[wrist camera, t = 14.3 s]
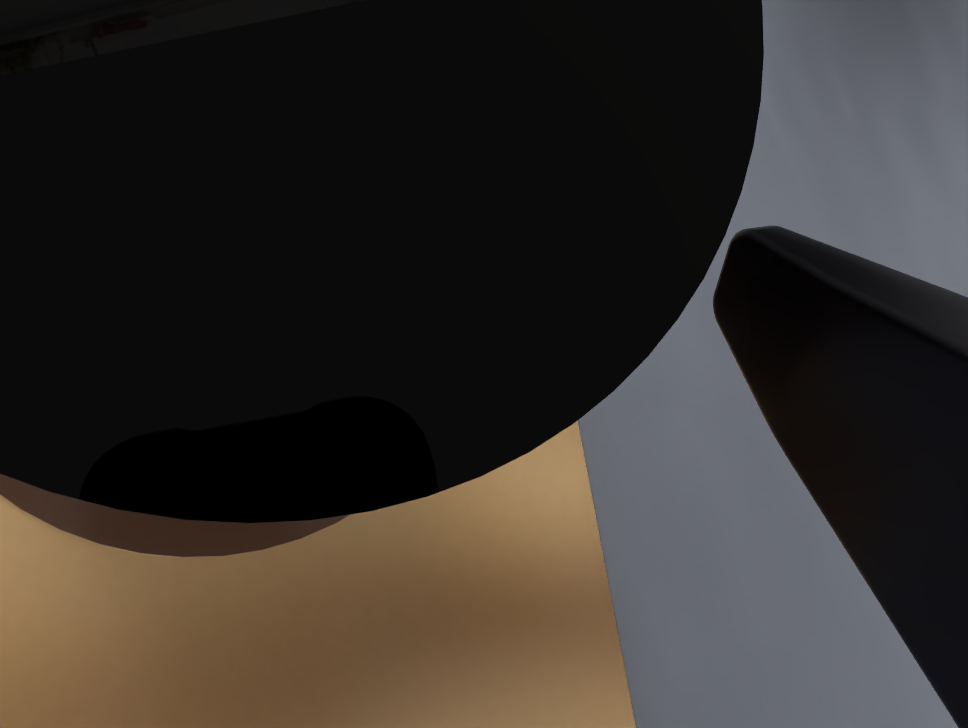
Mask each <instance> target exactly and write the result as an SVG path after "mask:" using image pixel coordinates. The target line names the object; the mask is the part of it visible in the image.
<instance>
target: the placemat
mask: <svg viewBox="0 0 968 728" xmlns="http://www.w3.org/2000/svg"><path fill="white" fill-rule="evenodd" d="M0 728H636V725H635V720H634V714H633V709H632V704H631V698H630V693H629V688H628V683H627V677H626V672H625V667H624V662H623V656H622V651H621V646H620V641H619V635H618V630H617V625H616V620H615V614H614V609H613V604H612V599H611V593H610V588H609V583H608V578H607V572H606V567H605V562H604V556H603V551H602V546H601V541H600V535H599V530H598V525H597V520H596V514H595V509H594V504H593V499H592V493H591V488H590V483H589V478H588V472H587V467H586V462H585V457H584V451H583V446H582V441H581V435H580V430H579V425H578V420H577V421H576V422H575V423H574V424H572V425H571V426H569V427H568V428H566V429H565V430H563V431H561V432H560V433H558V434H557V435H555V436H554V437H552V438H551V439H549V440H548V441H546V442H544V443H543V444H541V445H540V446H538V447H537V448H535V449H534V450H532V451H531V452H529V453H527V454H525V455H523V456H521V457H519V458H517V459H515V460H513V461H511V462H509V463H507V464H505V465H503V466H501V467H499V468H497V469H495V470H493V471H491V472H489V473H487V474H485V475H483V476H481V477H479V478H476V479H473V480H471V481H468V482H465V483H463V484H460V485H457V486H455V487H452V488H449V489H447V490H444V491H441V492H439V493H436V494H433V495H431V496H428V497H424V498H420V499H416V500H413V501H409V502H405V503H401V504H397V505H393V506H390V507H386V508H382V509H378V510H374V511H369V512H363V513H356V514H349V515H343V516H336V517H330V518H323V519H316V520H305V521H284V522H263V523H237V522H218V521H199V520H183V519H176V518H170V517H163V516H157V515H151V514H144V513H138V512H131V511H125V510H118V509H114V508H110V507H106V506H102V505H99V504H95V503H91V502H87V501H83V500H79V499H75V498H72V497H68V496H64V495H60V494H56V493H52V492H49V491H46V490H43V489H41V488H38V487H35V486H32V485H30V484H27V483H24V482H22V481H19V480H16V479H13V478H11V477H8V476H5V475H3V474H0Z"/></svg>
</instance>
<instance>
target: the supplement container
mask: <svg viewBox="0 0 968 728" xmlns="http://www.w3.org/2000/svg"><path fill="white" fill-rule="evenodd" d="M763 55H764V50H763V16H762V0H0V474H3V475H5V476H8V477H11V478H13V479H16V480H19V481H22V482H24V483H27V484H30V485H32V486H35V487H38V488H41V489H43V490H46V491H49V492H52V493H56V494H60V495H64V496H68V497H72V498H75V499H79V500H83V501H87V502H91V503H95V504H99V505H102V506H106V507H110V508H114V509H118V510H125V511H131V512H138V513H144V514H151V515H157V516H163V517H170V518H176V519H183V520H199V521H218V522H237V523H263V522H284V521H305V520H316V519H323V518H330V517H336V516H343V515H349V514H356V513H363V512H369V511H374V510H378V509H382V508H386V507H390V506H393V505H397V504H401V503H405V502H409V501H413V500H416V499H420V498H424V497H428V496H431V495H433V494H436V493H439V492H441V491H444V490H447V489H449V488H452V487H455V486H457V485H460V484H463V483H465V482H468V481H471V480H473V479H476V478H479V477H481V476H483V475H485V474H487V473H489V472H491V471H493V470H495V469H497V468H499V467H501V466H503V465H505V464H507V463H509V462H511V461H513V460H515V459H517V458H519V457H521V456H523V455H525V454H527V453H529V452H531V451H532V450H534V449H535V448H537V447H538V446H540V445H541V444H543V443H544V442H546V441H548V440H549V439H551V438H552V437H554V436H555V435H557V434H558V433H560V432H561V431H563V430H565V429H566V428H568V427H569V426H571V425H572V424H574V423H575V422H576V421H577V420H579V419H580V418H581V417H582V416H584V415H585V414H586V413H587V412H589V411H590V410H591V409H592V408H593V407H595V406H596V405H597V404H598V403H600V402H601V401H602V400H603V399H604V398H606V397H607V396H608V395H609V394H611V393H612V392H613V391H614V390H615V389H616V388H617V387H618V386H619V385H620V384H621V383H622V382H623V381H624V380H625V379H626V378H627V377H628V376H629V375H630V374H631V373H632V372H633V371H634V370H635V369H636V368H637V367H638V366H639V365H640V364H641V363H642V362H643V361H644V360H645V359H646V358H647V357H648V356H649V354H650V353H651V352H652V351H653V349H654V348H655V347H656V346H657V344H658V343H659V342H660V341H661V339H662V338H663V337H664V336H665V334H666V333H667V332H668V331H669V329H670V328H671V327H672V325H673V324H674V323H675V322H676V320H677V319H678V318H679V316H680V315H681V313H682V312H683V310H684V308H685V307H686V305H687V304H688V302H689V301H690V299H691V297H692V296H693V294H694V293H695V291H696V290H697V288H698V286H699V285H700V283H701V282H702V280H703V279H704V277H705V275H706V273H707V271H708V269H709V267H710V265H711V263H712V261H713V259H714V257H715V255H716V253H717V251H718V249H719V247H720V245H721V242H722V240H723V238H724V236H725V234H726V231H727V229H728V226H729V223H730V221H731V218H732V215H733V213H734V210H735V207H736V205H737V202H738V199H739V197H740V194H741V191H742V187H743V184H744V180H745V176H746V172H747V168H748V164H749V161H750V157H751V153H752V149H753V145H754V139H755V132H756V126H757V120H758V114H759V107H760V101H761V87H762V71H763Z"/></svg>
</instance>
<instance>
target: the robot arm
mask: <svg viewBox="0 0 968 728" xmlns="http://www.w3.org/2000/svg"><path fill="white" fill-rule="evenodd" d="M713 308H714V314H715V318H716V320H717V323H718V325H719V327H720V329H721V331H722V333H723V335H724V337H725V339H726V341H727V343H728V345H729V347H730V349H731V351H732V353H733V355H734V357H735V359H736V361H737V363H738V365H739V367H740V369H741V371H742V373H743V375H744V377H745V379H746V381H747V383H748V385H749V387H750V389H751V391H752V393H753V395H754V397H755V399H756V401H757V403H758V405H759V407H760V409H761V411H762V413H763V415H764V417H765V419H766V421H767V423H768V425H769V427H770V429H771V431H772V432H773V434H774V436H775V438H776V440H777V441H778V443H779V445H780V446H781V448H782V450H783V451H784V453H785V455H786V456H787V458H788V459H789V461H790V463H791V464H792V466H793V467H794V469H795V470H796V472H797V474H798V475H799V477H800V478H801V480H802V481H803V483H804V485H805V486H806V488H807V489H808V491H809V493H810V494H811V496H812V497H813V499H814V500H815V502H816V504H817V505H818V507H819V508H820V510H821V511H822V513H823V515H824V516H825V518H826V519H827V521H828V522H829V524H830V526H831V527H832V529H833V530H834V532H835V534H836V535H837V537H838V538H839V540H840V541H841V543H842V545H843V546H844V548H845V549H846V551H847V552H848V554H849V556H850V557H851V559H852V560H853V562H854V563H855V565H856V567H857V568H858V570H859V571H860V573H861V575H862V576H863V578H864V579H865V581H866V582H867V584H868V586H869V587H870V589H871V590H872V592H873V593H874V595H875V597H876V598H877V600H878V601H879V603H880V604H881V606H882V608H883V609H884V611H885V612H886V614H887V616H888V617H889V619H890V620H891V622H892V623H893V625H894V627H895V628H896V630H897V631H898V633H899V634H900V636H901V638H902V639H903V641H904V642H905V644H906V646H907V647H908V649H909V650H910V652H911V653H912V655H913V657H914V658H915V660H916V661H917V663H918V664H919V666H920V668H921V669H922V671H923V672H924V674H925V675H926V677H927V679H928V680H929V682H930V683H931V685H932V687H933V688H934V690H935V691H936V693H937V694H938V696H939V698H940V699H941V701H942V702H943V704H944V705H945V707H946V709H947V710H948V712H949V713H950V715H951V716H952V718H953V720H954V721H955V723H956V724H957V726H958V728H968V297H965V296H962V295H960V294H957V293H954V292H952V291H949V290H946V289H944V288H941V287H938V286H936V285H933V284H931V283H928V282H925V281H923V280H920V279H917V278H915V277H912V276H909V275H907V274H904V273H901V272H899V271H896V270H893V269H891V268H888V267H885V266H883V265H880V264H877V263H875V262H872V261H870V260H867V259H864V258H862V257H859V256H856V255H854V254H851V253H848V252H846V251H843V250H840V249H838V248H835V247H832V246H830V245H827V244H824V243H822V242H819V241H816V240H814V239H811V238H809V237H806V236H803V235H801V234H798V233H795V232H793V231H790V230H787V229H785V228H782V227H779V226H764V227H756V228H749V229H743V230H741V231H739V232H738V233H736V234H735V236H734V237H733V238H732V240H731V242H730V244H729V247H728V251H727V254H726V257H725V260H724V264H723V267H722V270H721V273H720V277H719V280H718V283H717V286H716V289H715V293H714V297H713Z"/></svg>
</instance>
